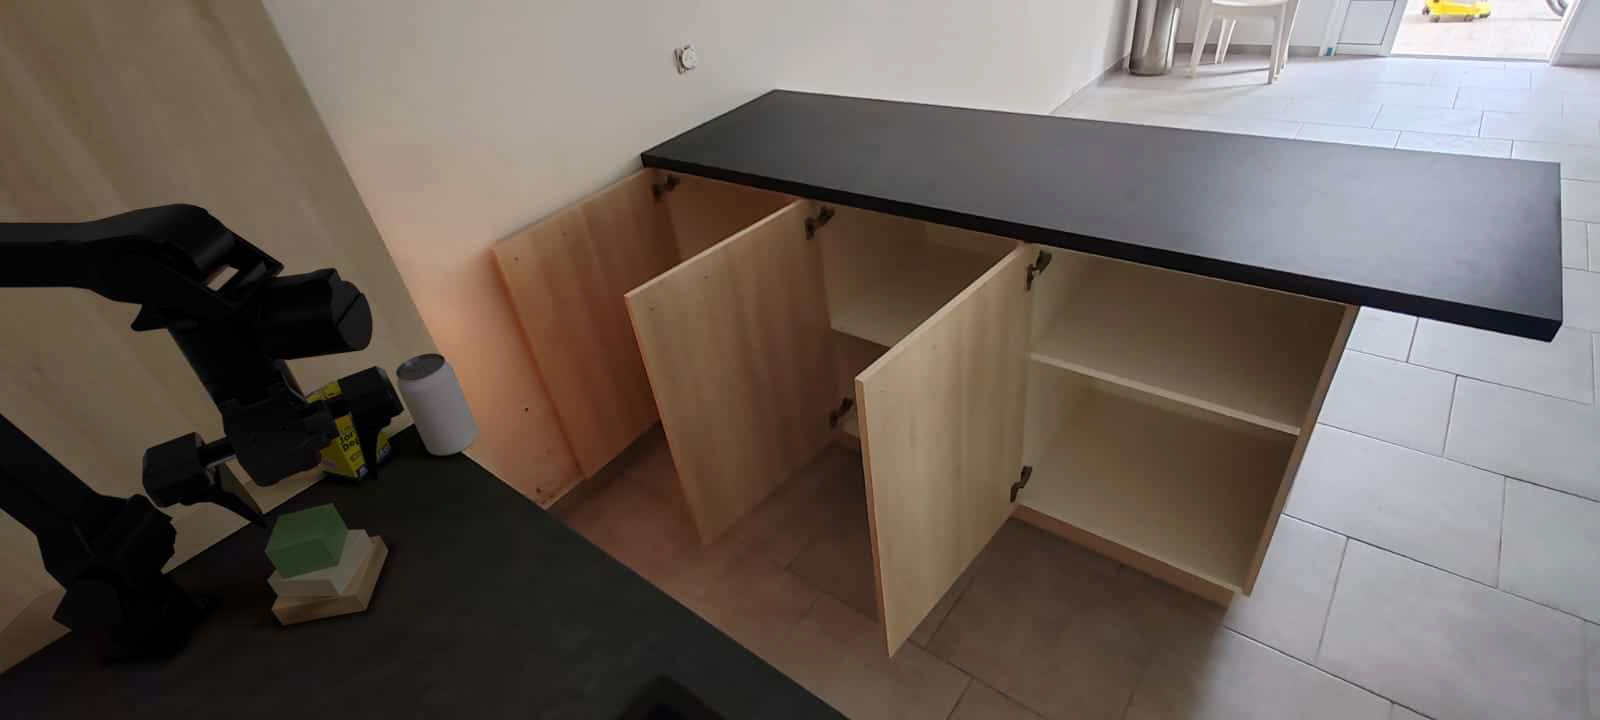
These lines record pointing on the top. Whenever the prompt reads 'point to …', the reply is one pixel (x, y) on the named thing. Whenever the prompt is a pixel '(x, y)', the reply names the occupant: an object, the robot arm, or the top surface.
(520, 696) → the top surface
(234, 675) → the top surface
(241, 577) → the top surface
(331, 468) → the supplement box
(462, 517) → the top surface
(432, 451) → the can
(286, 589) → the cream middle block
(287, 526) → the green block
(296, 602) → the birch base block
